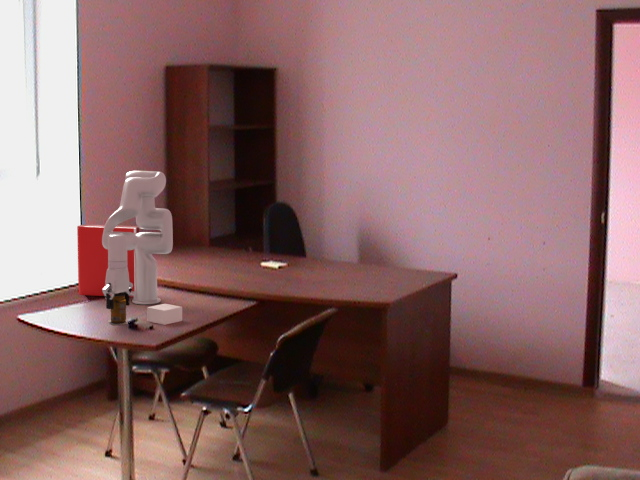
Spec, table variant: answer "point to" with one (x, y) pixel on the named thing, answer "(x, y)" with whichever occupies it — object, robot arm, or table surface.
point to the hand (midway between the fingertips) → (118, 306)
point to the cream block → (164, 314)
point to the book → (98, 259)
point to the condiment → (118, 310)
